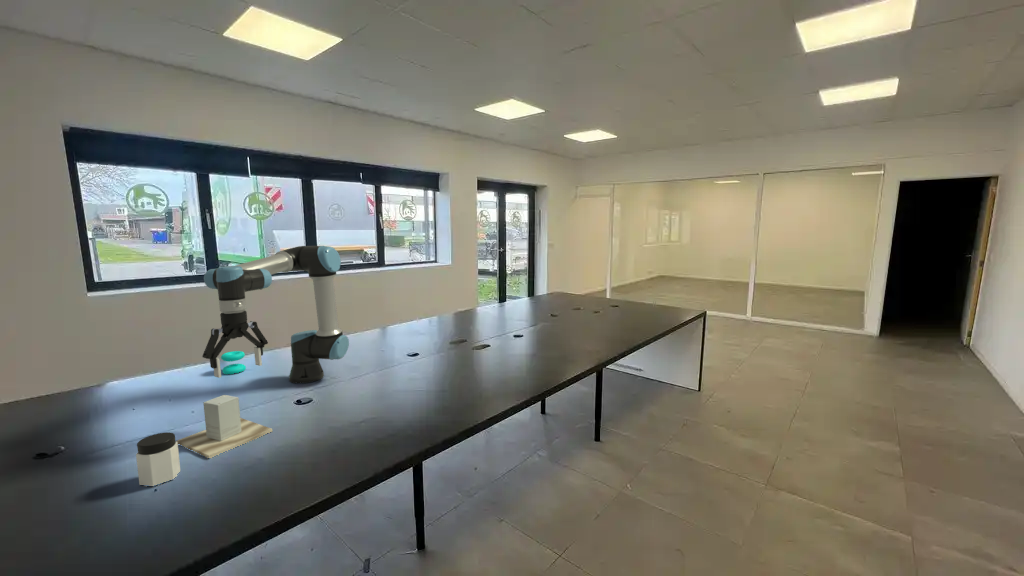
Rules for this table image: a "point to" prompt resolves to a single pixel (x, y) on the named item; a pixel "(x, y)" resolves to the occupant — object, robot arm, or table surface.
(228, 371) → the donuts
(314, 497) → the table surface
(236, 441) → the birch board
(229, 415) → the supplement box
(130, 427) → the table surface
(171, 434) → the jar
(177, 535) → the table surface
